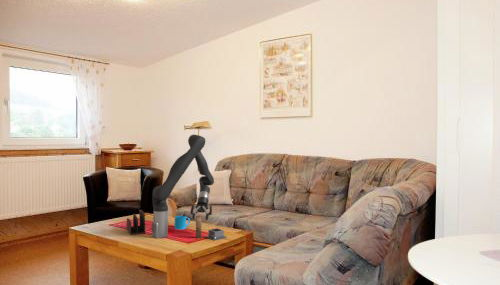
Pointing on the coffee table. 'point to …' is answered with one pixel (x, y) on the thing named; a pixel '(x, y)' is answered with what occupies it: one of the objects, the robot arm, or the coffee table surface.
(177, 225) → the mug
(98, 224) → the coffee table surface
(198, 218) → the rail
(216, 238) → the grey square block
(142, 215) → the letter holder
